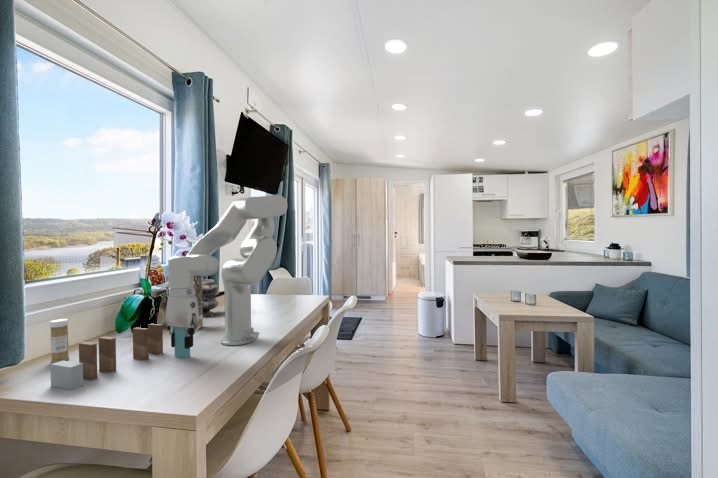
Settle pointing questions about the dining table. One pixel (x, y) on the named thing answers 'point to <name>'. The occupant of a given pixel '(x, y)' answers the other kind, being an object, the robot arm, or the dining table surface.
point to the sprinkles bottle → (59, 340)
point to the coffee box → (162, 306)
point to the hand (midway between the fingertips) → (182, 346)
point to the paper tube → (199, 297)
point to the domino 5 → (180, 343)
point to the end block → (66, 375)
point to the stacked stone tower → (208, 297)
